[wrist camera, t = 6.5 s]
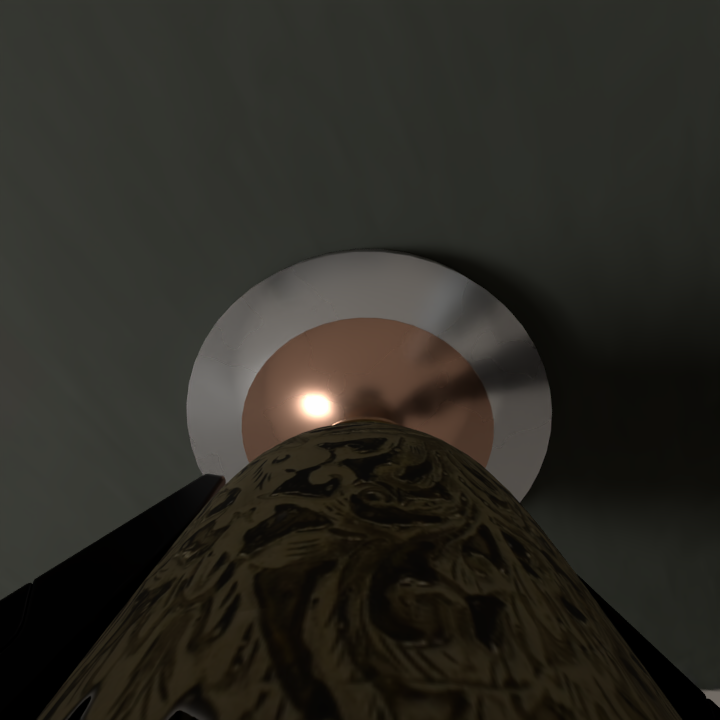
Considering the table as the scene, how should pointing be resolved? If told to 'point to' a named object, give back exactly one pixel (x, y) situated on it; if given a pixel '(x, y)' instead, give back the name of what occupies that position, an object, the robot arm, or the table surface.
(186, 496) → the robot arm
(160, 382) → the table surface
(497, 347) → the rosette plate
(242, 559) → the cup
